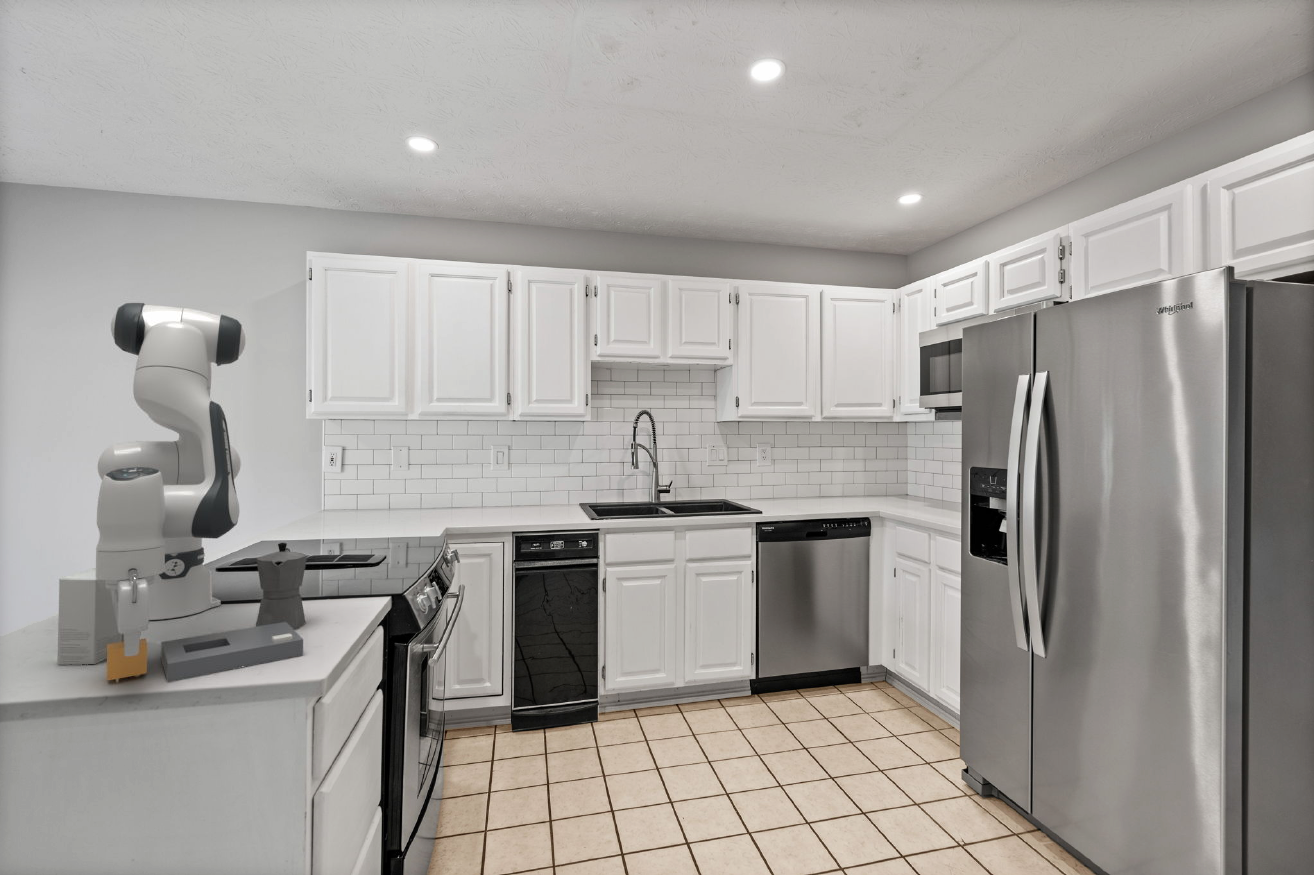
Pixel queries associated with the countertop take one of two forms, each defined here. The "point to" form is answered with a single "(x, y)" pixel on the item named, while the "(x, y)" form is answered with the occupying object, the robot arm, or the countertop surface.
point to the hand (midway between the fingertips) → (129, 647)
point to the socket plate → (229, 650)
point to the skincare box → (85, 619)
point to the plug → (125, 661)
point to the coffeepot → (281, 587)
